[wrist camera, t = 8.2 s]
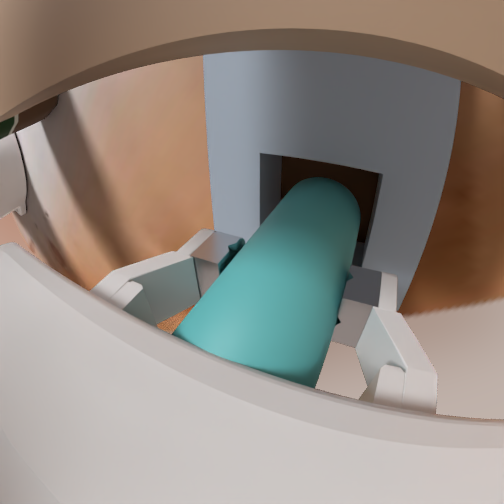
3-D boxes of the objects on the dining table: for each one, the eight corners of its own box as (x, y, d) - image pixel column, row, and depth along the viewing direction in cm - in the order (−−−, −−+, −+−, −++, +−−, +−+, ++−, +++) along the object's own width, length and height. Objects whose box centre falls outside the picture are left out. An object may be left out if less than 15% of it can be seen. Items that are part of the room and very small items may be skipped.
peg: (285, 170, 12) (103, 359, 4) (367, 186, 10) (289, 452, 3) (282, 239, 14) (156, 424, 6) (352, 256, 12) (275, 479, 5)
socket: (241, 236, 18) (217, 263, 16) (234, -26, 8) (202, -42, 6) (398, 274, 15) (398, 310, 12) (440, -13, 5) (454, -35, 3)
